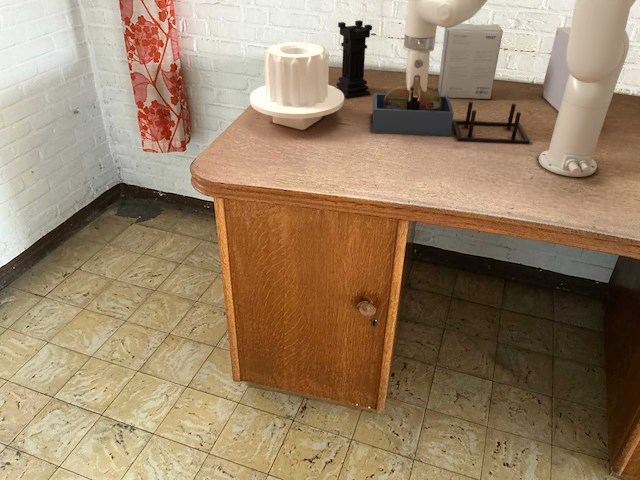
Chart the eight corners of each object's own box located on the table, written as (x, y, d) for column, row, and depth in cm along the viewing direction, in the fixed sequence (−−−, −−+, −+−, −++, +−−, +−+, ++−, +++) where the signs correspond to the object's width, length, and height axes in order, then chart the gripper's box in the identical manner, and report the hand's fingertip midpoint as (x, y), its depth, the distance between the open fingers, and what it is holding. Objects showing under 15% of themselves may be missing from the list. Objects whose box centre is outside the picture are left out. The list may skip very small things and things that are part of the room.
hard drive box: (487, 91, 169) (499, 24, 157) (490, 99, 162) (504, 30, 151) (436, 89, 170) (445, 22, 158) (438, 97, 164) (448, 28, 152)
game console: (577, 130, 144) (599, 54, 133) (539, 95, 166) (556, 27, 155) (598, 130, 144) (623, 54, 133) (558, 94, 167) (576, 27, 155)
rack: (529, 144, 137) (535, 117, 133) (457, 140, 138) (462, 114, 134) (519, 125, 146) (524, 100, 142) (452, 122, 148) (456, 97, 144)
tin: (382, 118, 144) (385, 88, 139) (382, 113, 147) (385, 83, 142) (439, 121, 143) (444, 90, 138) (438, 116, 146) (443, 86, 141)
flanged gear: (359, 114, 152) (363, 45, 141) (312, 147, 134) (313, 70, 123) (284, 98, 162) (282, 32, 151) (232, 126, 144) (226, 53, 133)
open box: (450, 136, 140) (453, 112, 137) (372, 132, 142) (373, 109, 138) (445, 118, 150) (448, 96, 147) (372, 115, 151) (374, 93, 148)
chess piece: (334, 90, 168) (336, 22, 157) (357, 86, 171) (360, 19, 160) (346, 98, 162) (349, 28, 151) (369, 94, 165) (374, 26, 154)
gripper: (437, 52, 127) (428, 126, 137) (431, 34, 140) (423, 103, 150) (405, 51, 127) (398, 125, 138) (402, 33, 140) (396, 102, 151)
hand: (411, 113), depth 144 cm, fingers closed on tin, 2 cm apart
